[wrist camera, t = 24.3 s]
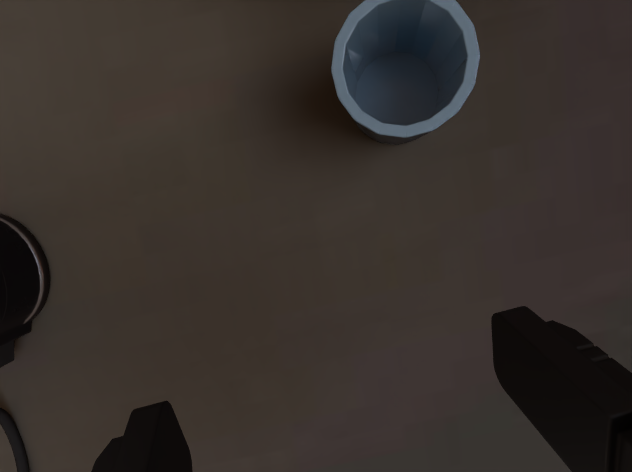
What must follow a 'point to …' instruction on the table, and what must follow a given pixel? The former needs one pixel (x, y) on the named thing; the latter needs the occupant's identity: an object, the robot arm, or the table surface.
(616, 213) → the table surface
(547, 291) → the table surface
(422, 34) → the enamel cup
